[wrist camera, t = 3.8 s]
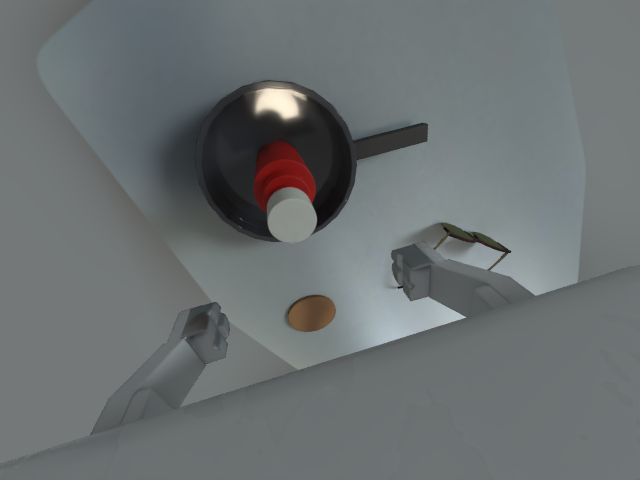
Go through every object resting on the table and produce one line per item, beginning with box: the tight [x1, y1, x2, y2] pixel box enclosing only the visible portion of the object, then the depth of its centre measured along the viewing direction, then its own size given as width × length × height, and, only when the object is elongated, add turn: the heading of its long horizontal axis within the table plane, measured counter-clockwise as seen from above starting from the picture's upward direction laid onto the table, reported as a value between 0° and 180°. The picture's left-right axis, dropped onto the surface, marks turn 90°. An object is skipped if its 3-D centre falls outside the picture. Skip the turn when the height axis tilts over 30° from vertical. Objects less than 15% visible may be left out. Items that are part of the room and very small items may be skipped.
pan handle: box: [353, 123, 428, 160], centre depth 29 cm, size 9×2×1 cm, turn 102°
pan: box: [195, 80, 357, 242], centre depth 29 cm, size 17×17×5 cm
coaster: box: [288, 295, 336, 332], centre depth 45 cm, size 9×9×1 cm
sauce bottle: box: [254, 141, 317, 243], centre depth 24 cm, size 6×6×16 cm
